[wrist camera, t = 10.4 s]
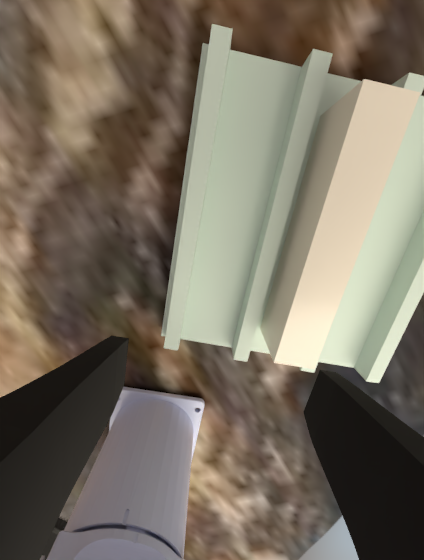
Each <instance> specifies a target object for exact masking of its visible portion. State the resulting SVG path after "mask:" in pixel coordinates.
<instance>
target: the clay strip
mask: <svg viewBox="0 0 424 560" xmlns="http://www.w3.org/2000/svg"><path fill="white" fill-rule="evenodd" d="M420 93H421V92H417V91H412V90H408V89H404V88H400V87H396V86H392V85H388V84H383V83H379V82H375V81H371V80H367V79H363V80H362V81H361V82H360V83H359V84H357V85H356V86H355V87H354V88H353V89H352V90H350V91H349V92H348V93H347V94H346V95H344V96H343V97H342V98H341V99H340V100H339V101H337V102H336V103H335V104H334V105H333V106H331V107H330V108H329V109H328V110H327V111H326V112H324V113H323V114H322V115H321V116H320V119H319V123H318V126H317V130H316V133H315V137H314V140H313V144H312V147H311V151H310V154H309V158H308V161H307V165H306V168H305V172H304V176H303V179H302V183H301V186H300V190H299V193H298V197H297V200H296V204H295V207H294V211H293V214H292V218H291V221H290V225H289V228H288V232H287V236H286V239H285V243H284V246H283V250H282V253H281V257H280V260H279V264H278V267H277V271H276V274H275V278H274V281H273V285H272V289H271V292H270V296H269V299H268V303H267V306H266V310H265V313H264V317H263V320H262V324H261V327H260V330H261V332H262V335H263V337H264V339H265V342H266V344H267V347H268V349H269V352H270V354H271V357H272V359H273V362H274V363H280V364H286V365H292V366H298V367H304V368H310V369H315V367H316V364H317V361H318V359H319V356H320V354H321V351H322V348H323V346H324V343H325V340H326V338H327V335H328V333H329V330H330V327H331V325H332V322H333V320H334V317H335V314H336V312H337V309H338V307H339V304H340V301H341V299H342V296H343V294H344V291H345V288H346V286H347V283H348V281H349V278H350V275H351V273H352V270H353V267H354V265H355V262H356V260H357V257H358V254H359V252H360V249H361V247H362V244H363V241H364V239H365V236H366V234H367V231H368V228H369V226H370V223H371V221H372V218H373V215H374V213H375V210H376V208H377V205H378V202H379V200H380V197H381V194H382V192H383V189H384V187H385V184H386V181H387V179H388V176H389V174H390V171H391V168H392V166H393V163H394V161H395V158H396V155H397V153H398V150H399V148H400V145H401V142H402V140H403V137H404V135H405V132H406V129H407V127H408V124H409V122H410V119H411V116H412V114H413V111H414V108H415V106H416V103H417V101H418V98H419V95H420Z"/></svg>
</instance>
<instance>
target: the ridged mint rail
mask: <svg viewBox="0 0 424 560" xmlns="http://www.w3.org/2000/svg"><path fill="white" fill-rule="evenodd" d="M232 30H233V29H231V28H227V27H223V26H219V25H215V24H212V27H211V34H210V41H209V44H205V43H203V45H202V52H201V59H200V66H199V73H198V80H197V87H196V94H195V101H194V108H193V115H192V122H191V129H190V136H189V143H188V150H187V157H186V164H185V171H184V178H183V185H182V192H181V199H180V206H179V213H178V220H177V227H176V234H175V242H174V249H173V256H172V263H171V270H170V277H169V284H168V291H167V298H166V305H165V312H164V319H163V326H162V333H161V336H165V343H164V348H166V349H172V350H178V348H179V344H180V339H184V340H190V341H196V342H202V343H208V344H214V345H220V346H226V347H232V352H233V359H234V360H239V361H246V362H247V361H248V357H249V354H250V351H256V352H262V353H268V354H270V352H269V349H268V347H267V344H266V342H265V339H264V337H263V335H262V332H261V330H260V327H261V324H262V320H263V317H264V313H265V310H266V306H267V303H268V299H269V296H270V292H271V289H272V285H273V281H274V278H275V274H276V271H277V267H278V264H279V260H280V257H281V253H282V250H283V246H284V243H285V239H286V236H287V232H288V228H289V225H290V221H291V218H292V214H293V211H294V207H295V204H296V200H297V197H298V193H299V190H300V186H301V183H302V179H303V176H304V172H305V168H306V165H307V161H308V158H309V154H310V151H311V147H312V144H313V140H314V137H315V133H316V130H317V126H318V123H319V119H320V116H321V115H322V114H323V113H324V112H326V111H327V110H328V109H329V108H330V107H331V106H333V105H334V104H335V103H336V102H337V101H339V100H340V99H341V98H342V97H343V96H344V95H346V94H347V93H348V92H349V91H350V90H352V89H353V88H354V87H355V86H356V85H357V84H359V83H360V82H361V81H358V80H354V79H350V78H346V77H342V76H338V75H333V74H329V73H328V69H329V66H330V62H331V58H332V55H333V54H332V53H328V52H324V51H320V50H316V49H313V50H312V51H311V53H310V55H309V56H308V58H307V59H306V61H305V62H304V64H303V66H302V67H300V66H296V65H292V64H288V63H284V62H280V61H275V60H271V59H267V58H263V57H259V56H255V55H251V54H246V53H242V52H238V51H234V50H230V47H231V39H232ZM392 86H396V87H400V88H404V89H408V90H412V91H417V92H421V93H420V95H419V98H418V101H417V103H416V106H415V108H414V111H413V114H412V116H411V119H410V122H409V124H408V127H407V129H406V132H405V135H404V137H403V140H402V142H401V145H400V148H399V150H398V153H397V155H396V158H395V161H394V163H393V166H392V168H391V171H390V174H389V176H388V179H387V181H386V184H385V187H384V189H383V192H382V194H381V197H380V200H379V202H378V205H377V208H376V210H375V213H374V215H373V218H372V221H371V223H370V226H369V228H368V231H367V234H366V236H365V239H364V241H363V244H362V247H361V249H360V252H359V254H358V257H357V260H356V262H355V265H354V267H353V270H352V273H351V275H350V278H349V281H348V283H347V286H346V288H345V291H344V294H343V296H342V299H341V301H340V304H339V307H338V309H337V312H336V314H335V317H334V320H333V322H332V325H331V327H330V330H329V333H328V335H327V338H326V340H325V343H324V346H323V348H322V351H321V354H320V356H319V359H318V361H317V364H318V362H323V363H329V364H335V365H341V366H347V367H353V368H355V369H356V370H357V371H358V373H359V374H360V375H361V376H362V377H363V378H364V379H365V380H366V381H369V382H375V383H379V382H380V380H381V378H382V376H383V374H384V372H385V370H386V368H387V366H388V364H389V362H390V360H391V357H392V355H393V353H394V351H395V349H396V347H397V345H398V343H399V341H400V339H401V337H402V335H403V333H404V331H405V329H406V327H407V325H408V323H409V321H410V319H411V317H412V315H413V313H414V311H415V309H416V307H417V305H418V303H419V301H420V299H421V297H422V295H423V292H424V96H421V94H422V91H423V89H424V76H422V75H418V74H413V73H408V74H406V75H405V76H404V77H402V78H401V79H399V80H398V81H396V82H395V83H393V84H392ZM317 364H316V367H317ZM316 367H315V369H316ZM299 368H300V370H301V371H307V372H313V373H314V372H315V369H310V368H304V367H299Z"/></svg>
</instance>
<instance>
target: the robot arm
mask: <svg viewBox="0 0 424 560" xmlns="http://www.w3.org/2000/svg"><path fill="white" fill-rule="evenodd" d="M128 340H129V339H128V338H122V337H116V336H110V337H109V338H107V339H105V340H103V341H102V342H100V343H99V344H97V345H95V346H94V347H92V348H90V349H89V350H87V351H85V352H84V353H82V354H80V355H79V356H77V357H75V358H74V359H72V360H70V361H69V362H67V363H65V364H63V365H62V366H60V367H58V368H56V369H55V370H53V371H51V372H49V373H47V374H45V375H43V376H41V377H40V378H38V379H36V380H34V381H32V382H30V383H28V384H27V385H25V386H23V387H21V388H19V389H17V390H15V391H13V392H11V393H9V394H7V395H5V396H3V397H1V398H0V560H45V556H43V555H42V554H43V551H44V549H45V547H46V545H47V542H48V540H49V538H50V536H51V533H52V531H53V529H54V527H55V524H56V522H57V520H58V518H59V515H60V513H61V511H62V509H63V507H64V505H65V503H66V501H67V499H68V497H69V495H70V493H71V491H72V489H73V487H74V485H75V483H76V481H77V479H78V477H79V476H80V474H81V472H82V470H83V468H84V466H85V464H86V463H87V461H88V459H89V457H90V455H91V453H92V451H93V449H94V448H95V446H96V444H97V442H98V440H99V438H100V436H101V435H102V433H103V431H104V429H105V427H106V425H107V423H108V421H109V419H110V424H109V433H108V435H107V437H106V440H105V442H104V444H103V446H102V448H101V450H100V453H99V455H98V457H97V459H96V461H95V463H94V466H93V468H92V470H91V472H90V474H89V477H88V479H87V481H86V483H85V485H84V487H83V490H82V492H81V494H80V496H79V498H78V501H77V503H76V505H75V507H74V509H73V511H72V514H71V516H70V518H69V520H68V522H67V525H66V527H65V529H64V531H63V530H62V531H60V532H59V534H58V536H57V538H56V540H55V542H54V544H53V547H52V549H51V551H50V553H49V555H48V557H47V559H46V560H184V559H183V557H184V545H185V532H186V520H187V507H188V495H189V482H190V470H191V462H192V458H193V453H194V449H195V445H196V440H197V436H198V432H199V427H200V423H201V418H202V414H203V410H204V400H203V399H201V398H196V397H189V396H183V395H176V394H169V393H163V392H156V391H150V390H143V389H136V388H130V387H124V382H125V371H126V361H127V350H128ZM196 408H199V409H196ZM304 415H305V419H306V423H307V427H308V430H309V433H310V437H311V440H312V443H313V445H314V448H315V450H316V453H317V455H318V458H319V460H320V463H321V465H322V467H323V470H324V472H325V475H326V477H327V479H328V482H329V484H330V487H331V489H332V491H333V494H334V496H335V498H336V501H337V503H338V506H339V508H340V510H341V513H342V515H343V517H344V520H345V522H346V525H347V527H348V530H349V532H350V535H351V537H352V540H353V543H354V545H355V549H356V552H357V555H358V558H359V560H424V437H423V436H421V435H420V434H418V433H417V432H416V431H414V430H413V429H412V428H410V427H409V426H408V425H406V424H405V423H404V422H402V421H401V420H400V419H398V418H397V417H396V416H394V415H393V414H392V413H390V412H389V411H388V410H386V409H385V408H384V407H382V406H381V405H380V404H378V403H377V402H376V401H375V400H373V399H372V398H371V397H369V396H368V395H367V394H365V393H364V392H363V391H361V390H360V389H359V388H357V387H356V386H355V385H353V384H352V383H351V382H349V381H348V380H346V379H345V378H344V377H342V376H341V375H339V374H337V373H336V372H330V371H324V370H320V371H319V374H318V377H317V379H316V382H315V384H314V387H313V389H312V392H311V394H310V397H309V399H308V402H307V405H306V407H305V410H304Z"/></svg>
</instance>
